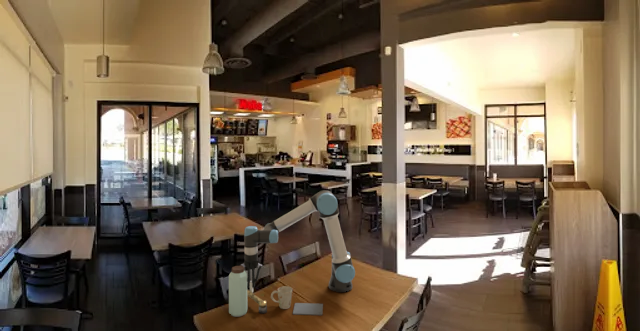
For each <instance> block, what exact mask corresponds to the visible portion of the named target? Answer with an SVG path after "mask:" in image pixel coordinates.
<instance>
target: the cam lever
mask: <svg viewBox="0 0 640 331" xmlns="http://www.w3.org/2000/svg"><path fill="white" fill-rule="evenodd" d="M247 297H249V298H250V299H251V300H253V302H255V303H257V304H258V308H259V307H262V308H263V307H266V306H267V304H268V302H267V300H266V299H265V300H263V299H262V298H260V297H259V296H257V295H256V294H255V293H254V292H253V293H252V292H250V289H247ZM267 307H268V306H267Z"/></svg>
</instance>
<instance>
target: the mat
mask: <svg viewBox="0 0 640 331" xmlns="http://www.w3.org/2000/svg"><path fill="white" fill-rule="evenodd" d="M323 310H324V303H315V302H314V303H311V302H310V303H309V302H304V303H303V302H295V303H294V306H293V311H292V315H295V316H297V315H298V316H299V315H300V316H323V314H324V313H323Z"/></svg>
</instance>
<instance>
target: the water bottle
mask: <svg viewBox="0 0 640 331" xmlns="http://www.w3.org/2000/svg"><path fill="white" fill-rule="evenodd" d="M247 278H248V271H246V272H245V271H244V267H243V266H240V265H235V266H232V267H231V272H230V273H229V275H228V313H229V314H231V315H230V316H232V317H235V318H236V317H242V316H245V315H246V314H247V312H248V296H247V290H248V282H247Z"/></svg>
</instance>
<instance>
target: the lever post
mask: <svg viewBox="0 0 640 331" xmlns="http://www.w3.org/2000/svg"><path fill="white" fill-rule="evenodd" d="M258 313H259V314H261V315H263V314H267V313H268V306H266V307H263V308H262V307H259V306H258Z"/></svg>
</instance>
